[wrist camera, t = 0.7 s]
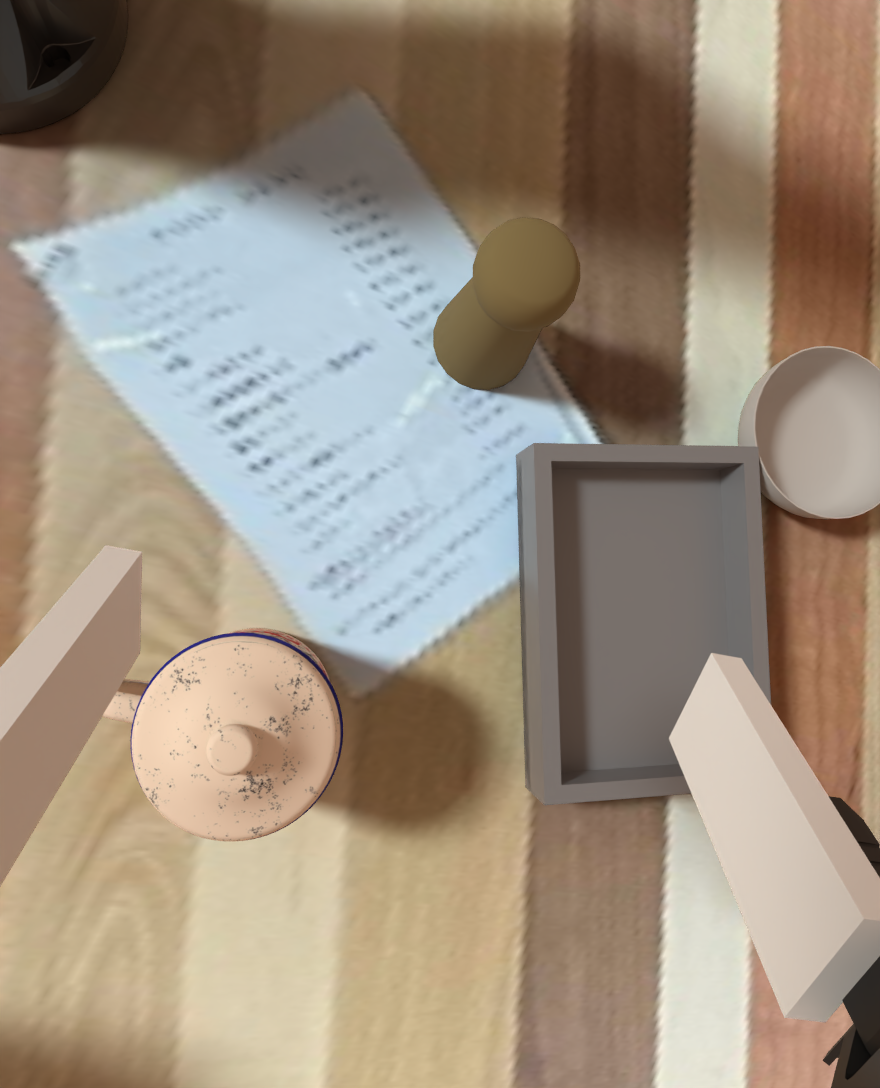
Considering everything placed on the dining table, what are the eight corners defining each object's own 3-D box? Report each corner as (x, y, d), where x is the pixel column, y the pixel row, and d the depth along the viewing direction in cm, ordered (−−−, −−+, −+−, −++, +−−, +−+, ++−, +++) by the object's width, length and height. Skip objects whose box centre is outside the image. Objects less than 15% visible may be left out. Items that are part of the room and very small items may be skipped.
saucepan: (763, 333, 47) (803, 311, 43) (970, 471, 49) (1025, 461, 45) (694, 470, 45) (728, 460, 41) (910, 606, 47) (962, 608, 44)
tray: (516, 454, 43) (533, 443, 39) (724, 457, 45) (758, 446, 42) (525, 787, 42) (544, 805, 38) (739, 771, 44) (775, 786, 41)
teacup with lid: (353, 641, 41) (367, 662, 29) (316, 800, 40) (317, 886, 28) (139, 596, 39) (66, 600, 27) (96, 762, 38) (1, 838, 26)
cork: (416, 315, 42) (450, 222, 32) (501, 278, 44) (563, 176, 33) (460, 405, 43) (510, 343, 32) (545, 366, 44) (620, 293, 33)
